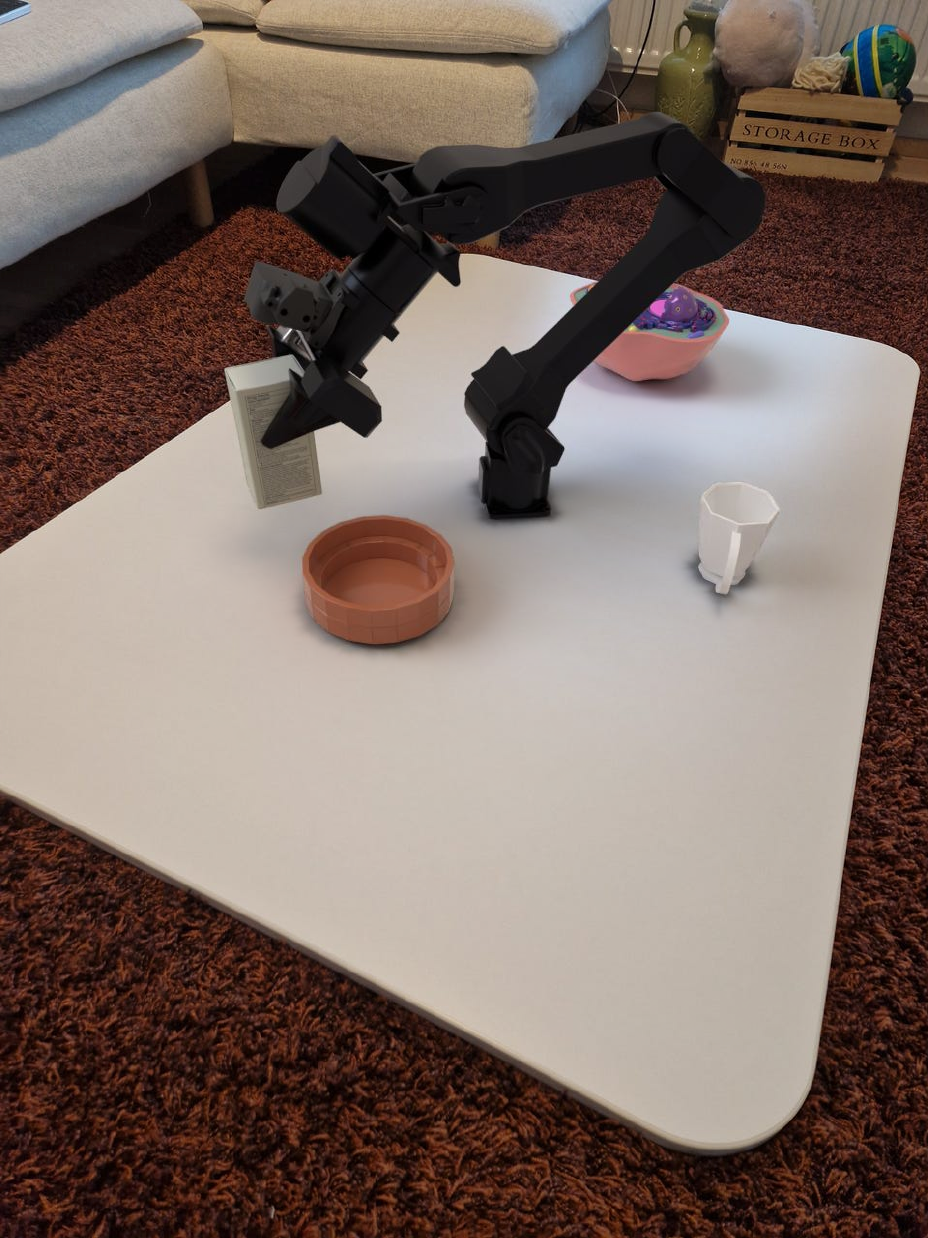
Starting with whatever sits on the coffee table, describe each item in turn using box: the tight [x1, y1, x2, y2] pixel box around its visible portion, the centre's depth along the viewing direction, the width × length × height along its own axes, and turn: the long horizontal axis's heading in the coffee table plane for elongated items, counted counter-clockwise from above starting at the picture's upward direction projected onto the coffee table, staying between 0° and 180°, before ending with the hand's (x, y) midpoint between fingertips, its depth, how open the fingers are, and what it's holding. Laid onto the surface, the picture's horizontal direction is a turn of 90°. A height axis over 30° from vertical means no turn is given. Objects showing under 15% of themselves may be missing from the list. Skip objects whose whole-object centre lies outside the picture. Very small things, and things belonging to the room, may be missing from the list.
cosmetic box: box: [224, 355, 323, 510], centre depth 81 cm, size 6×4×12 cm
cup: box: [697, 481, 782, 595], centre depth 84 cm, size 7×10×8 cm
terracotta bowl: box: [301, 514, 455, 645], centre depth 82 cm, size 13×13×4 cm
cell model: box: [569, 280, 730, 382], centre depth 114 cm, size 17×20×11 cm
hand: (259, 432), depth 80 cm, fingers closed on cosmetic box, 4 cm apart
